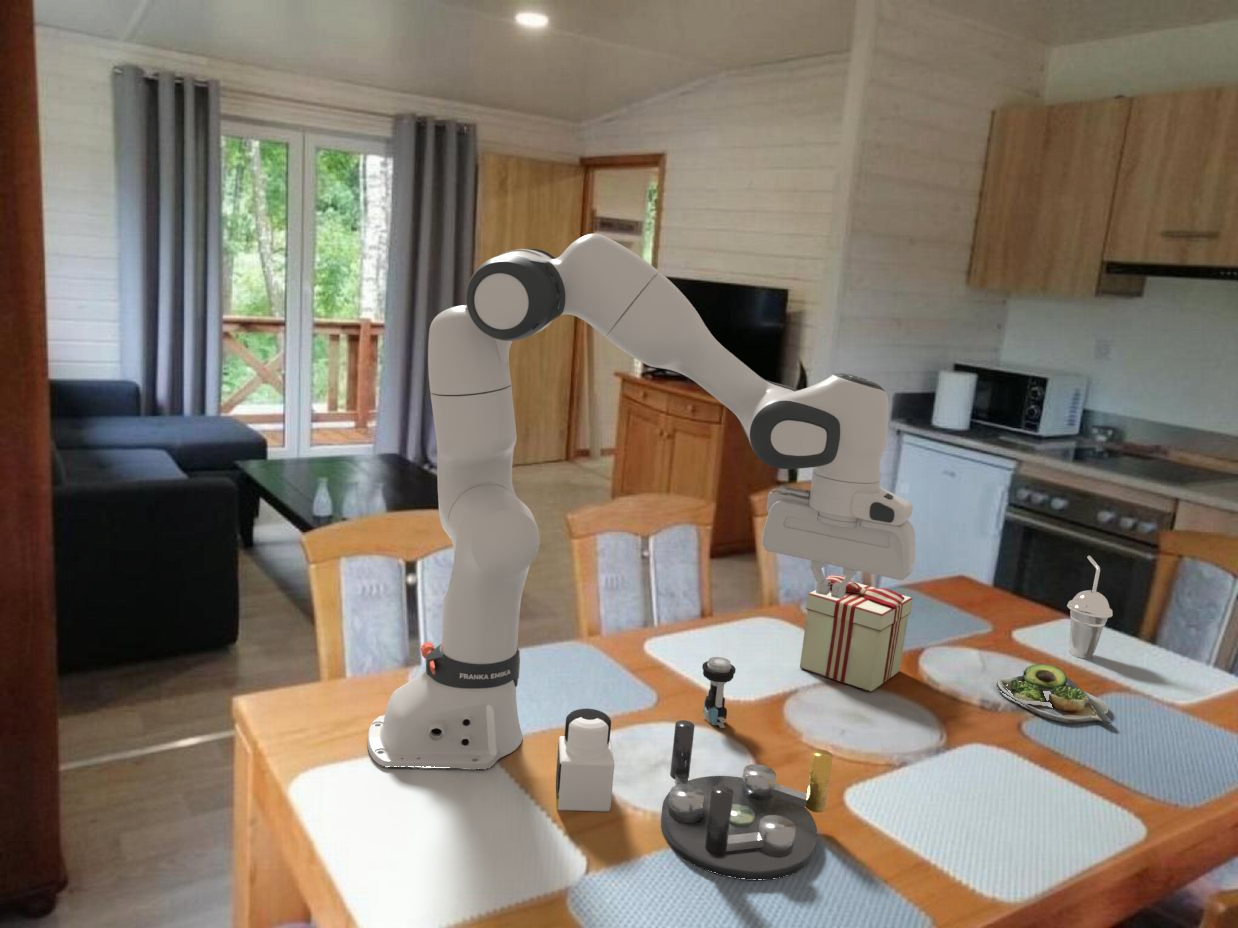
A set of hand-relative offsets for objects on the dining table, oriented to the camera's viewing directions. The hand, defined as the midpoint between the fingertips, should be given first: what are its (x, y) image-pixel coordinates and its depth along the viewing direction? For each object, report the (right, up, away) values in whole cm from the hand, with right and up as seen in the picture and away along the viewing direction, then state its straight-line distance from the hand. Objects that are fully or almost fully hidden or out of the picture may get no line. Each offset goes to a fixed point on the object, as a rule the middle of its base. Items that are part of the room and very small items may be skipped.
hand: (830, 595), depth 127 cm
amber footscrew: (-7, -27, -2) cm, 28 cm away
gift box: (+15, -21, +50) cm, 57 cm away
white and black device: (-34, -27, -1) cm, 44 cm away
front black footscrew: (-13, -29, -13) cm, 34 cm away
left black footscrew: (-20, -26, -3) cm, 34 cm away
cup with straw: (+68, -22, +67) cm, 98 cm away
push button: (-13, -24, +24) cm, 36 cm away
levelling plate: (-13, -30, -6) cm, 33 cm away
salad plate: (+50, -26, +43) cm, 71 cm away
